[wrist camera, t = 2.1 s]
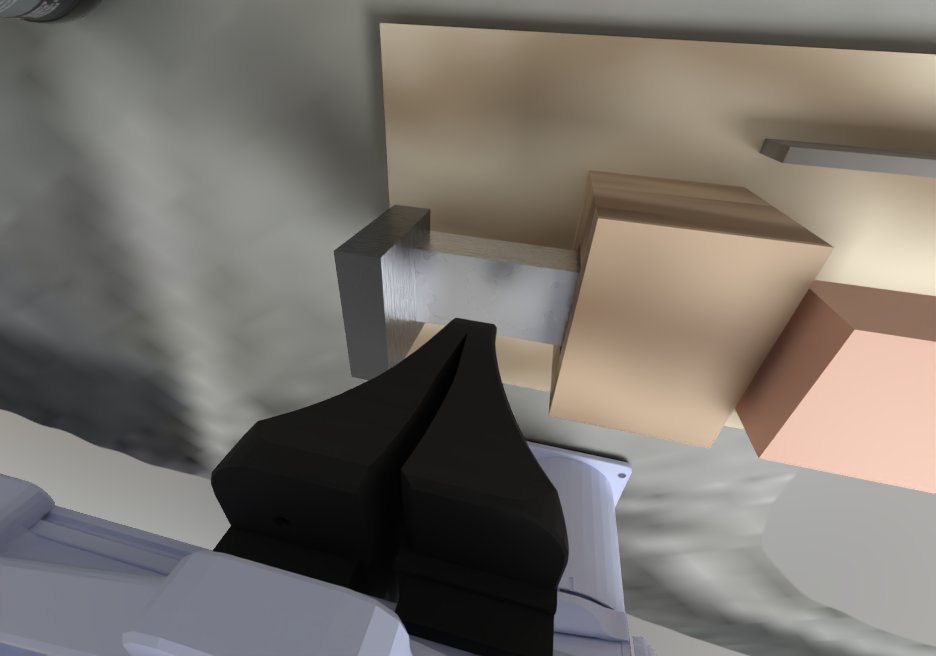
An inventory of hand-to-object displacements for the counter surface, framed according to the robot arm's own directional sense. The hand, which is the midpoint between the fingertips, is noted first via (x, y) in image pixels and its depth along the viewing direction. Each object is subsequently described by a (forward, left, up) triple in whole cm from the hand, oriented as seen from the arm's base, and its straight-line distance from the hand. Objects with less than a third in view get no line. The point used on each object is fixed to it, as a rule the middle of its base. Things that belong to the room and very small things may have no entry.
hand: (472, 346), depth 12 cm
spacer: (0, -12, -3) cm, 12 cm away
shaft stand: (0, -8, -9) cm, 13 cm away
